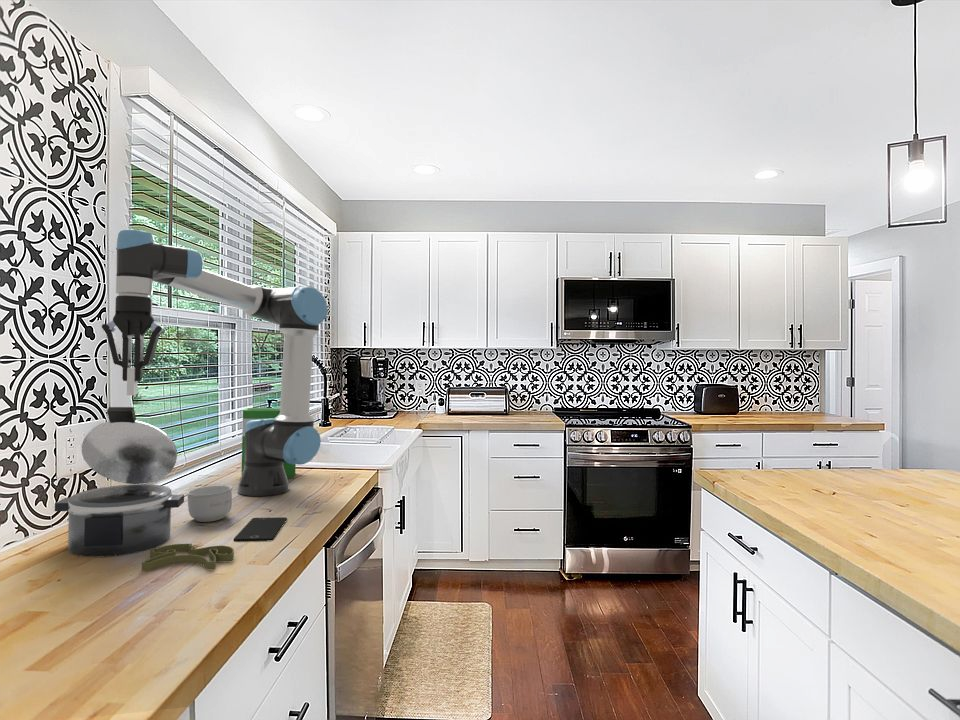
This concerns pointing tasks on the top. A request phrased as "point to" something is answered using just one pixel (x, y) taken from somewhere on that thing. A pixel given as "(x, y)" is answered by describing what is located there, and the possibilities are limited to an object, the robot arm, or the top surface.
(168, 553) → the cookie cutter
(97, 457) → the lid
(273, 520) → the cell phone
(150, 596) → the top surface
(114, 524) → the cooker
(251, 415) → the hardback book
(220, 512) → the teacup
